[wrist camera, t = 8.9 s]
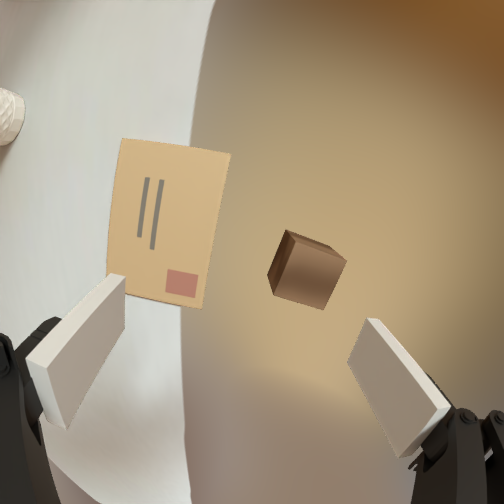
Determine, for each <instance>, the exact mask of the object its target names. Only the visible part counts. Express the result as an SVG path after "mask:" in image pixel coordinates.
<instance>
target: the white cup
mask: <svg viewBox="0 0 504 504" xmlns="http://www.w3.org/2000/svg"><path fill="white" fill-rule="evenodd" d="M24 115H25V104H24V99H23V98H22V97H21V96H20V95H19V94H16V93H13V92H10V91H8V90H6V89H3V88H0V145H7V144H8V143H10V142H12V141H13V140H14V139H15V137H16V136H17V134H18V133H19V131H20V129H21V126H22V124H23V121H24Z"/></svg>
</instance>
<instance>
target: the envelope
mask: <svg viewBox="0 0 504 504" xmlns="http://www.w3.org/2000/svg"><path fill="white" fill-rule="evenodd" d="M230 158H231V154H228V153H223V152H217V151H212V150H206V149H200V148H194V147H188V146H181V145H175V144H167V143H160V142H152V141H144V140H135V139H125V138H122V142H121V147H120V152H119V158H118V163H117V169H116V176H115V182H114V189H113V197H112V205H111V214H110V224H109V236H108V251H107V274H106V277H107V276H108V275H109V274H110V273H113V274H117V275H122V276H126V284H125V293H127V294H131V295H136V296H140V297H144V298H149V299H153V300H158V301H162V302H167V303H172V304H176V305H181V306H186V307H191V308H197V309H202V306H203V299H204V293H205V288H206V281H207V276H208V270H209V264H210V259H211V253H212V248H213V242H214V237H215V232H216V227H217V221H218V216H219V211H220V206H221V201H222V196H223V191H224V186H225V182H226V177H227V172H228V168H229V163H230Z"/></svg>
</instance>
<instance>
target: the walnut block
mask: <svg viewBox="0 0 504 504" xmlns="http://www.w3.org/2000/svg"><path fill="white" fill-rule="evenodd" d="M346 262H347V261H346V260H345V259H344V258H343V257H342V256H341V255H339V254H338V253H337V252H336V251H335V250H333V249H332V248H331V247H330V246H328V245H325V244H323V243H320V242H317V241H315V240H312V239H309V238H307V237H304V236H302V235H299V234H297V233H294V232H291V231H289V230H285V232H284V235H283V237H282V240H281V242H280V244H279V247H278V249H277V252H276V254H275V257H274V259H273V262H272V264H271V267H270V269H269V271H268V274H267V276H268V279H269V282H270V286H271V289H272V292H273V295H275V296H278V297H281V298H284V299H288V300H291V301H294V302H297V303H301V304H304V305H308V306H311V307H315V308H317V309H321V310H324V308H325V306H326V304H327V302H328V300H329V298H330V296H331V294H332V292H333V290H334V288H335V286H336V284H337V282H338V279H339V277H340V275H341V273H342V271H343V268H344V266H345V264H346Z"/></svg>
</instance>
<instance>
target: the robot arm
mask: <svg viewBox="0 0 504 504" xmlns="http://www.w3.org/2000/svg"><path fill="white" fill-rule="evenodd" d="M125 284H126V276H122V275H117V274H113V273H110V274H109V275H108V276H107V277H106V278H105V279H104V280H102V281H101V282H100V283H99V284H98V285H97V286H96V287H95V288H94V289H93V290H92V291H91V292H90V293H89V294H87V295H86V296H85V297H84V298H83V299H82V300H81V301H80V302H79V303H78V304H77V305H76V306H75V307H74V308H73V309H72V310H71V311H70V312H69V313H68V314H67V315H66V316H65V317H64V318H63V319H61V318H58V317H53V318H50V319H48V320H46V321H44V322H43V323H42V324H41V325H40V326H39V327H38V328H37V329H36V330H35V331H34V332H33V333H31V334H30V336H28V337H27V338H26V339H25V340H24V341H23V342H22V343H21V344H20V346H19V347H18V348H17V349H16V350H15V351H14V349H13V346H12V342H11V340H10V339H9V337H8V336H6V335H4V334H2V333H0V504H61V503H60V499H59V497H58V494H57V490H56V487H55V484H54V481H53V477H52V474H51V470H50V466H49V462H48V458H47V454H46V449H45V444H44V439H43V434H42V428H41V424H40V421H39V419H38V418H39V416H40V415H41V413H42V412H43V411H44V414H45V416H46V419H47V421H48V422H50V423H52V424H54V425H57V426H59V427H61V428H63V429H66V430H67V429H68V427H69V425H70V423H71V421H72V419H73V417H74V415H75V413H76V411H77V410H78V408H79V406H80V404H81V402H82V400H83V399H84V397H85V395H86V393H87V391H88V389H89V388H90V386H91V384H92V382H93V381H94V379H95V377H96V375H97V374H98V372H99V370H100V368H101V367H102V365H103V363H104V362H105V360H106V358H107V357H108V355H109V353H110V352H111V350H112V348H113V347H114V345H115V343H116V342H117V340H118V338H119V337H120V335H121V334H122V332H123V330H124V329H125ZM347 363H348V365H349V367H350V369H351V370H352V372H353V374H354V376H355V378H356V380H357V382H358V384H359V385H360V387H361V389H362V391H363V393H364V394H365V397H366V398H367V400H368V402H369V404H370V406H371V408H372V410H373V412H374V414H375V416H376V418H377V419H378V421H379V423H380V425H381V427H382V429H383V431H384V433H385V435H386V437H387V439H388V441H389V443H390V445H391V447H392V449H393V451H394V453H395V455H396V457H397V458H402V457H406V456H410V455H412V454H413V453H414V452H415V451H416V450H417V449H418V448H419V446H420V445H421V447H422V448H423V452H422V453H421V454H420V455H419V456H418V457H417V458H416V459H415V460H414V461H413V462H412V463H411V464H410V465H409V467H408V469H411V468H412V467H413V466H414V465H415V464H418V465H417V466H416V467H415V468H414V471H416V478H415V484H414V490H413V495H412V501H411V504H504V413H503V412H501V411H497V410H493V411H491V412H490V413H489V415H488V416H487V417H486V419H484V420H483V419H478V418H477V416H476V415H475V414H474V413H473V412H471V411H470V410H468V409H464V408H460V409H456V408H455V407H454V406H453V404H452V403H451V402H450V401H449V399H448V398H447V397H446V396H445V394H444V393H443V392H442V391H441V390H440V388H439V387H438V386H437V384H435V382H434V381H433V380H432V378H431V377H430V376H429V375H428V374H427V373H425V372H424V371H423V370H422V369H421V368H420V367H419V366H418V364H417V363H416V362H415V361H414V360H413V358H412V357H411V356H410V355H409V354H408V353H407V351H406V350H405V349H404V348H403V347H402V345H401V344H400V343H399V342H398V341H397V340H396V338H395V337H394V336H393V335H392V334H391V333H390V332H389V330H388V329H387V328H386V327H385V326H384V325H383V324H382V322H381V321H380V320H379V319H373V318H366V320H365V322H364V325H363V327H362V330H361V332H360V334H359V337H358V340H357V341H356V344H355V346H354V348H353V350H352V352H351V355H350V357H349V359H348V361H347ZM491 448H492V451H493V454H492V455H491V456H490V457H489V458H488V459H487V460H486V461H485V458H484V456H485V455H486V454H487V453H488V451H489V450H490V449H491Z"/></svg>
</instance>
